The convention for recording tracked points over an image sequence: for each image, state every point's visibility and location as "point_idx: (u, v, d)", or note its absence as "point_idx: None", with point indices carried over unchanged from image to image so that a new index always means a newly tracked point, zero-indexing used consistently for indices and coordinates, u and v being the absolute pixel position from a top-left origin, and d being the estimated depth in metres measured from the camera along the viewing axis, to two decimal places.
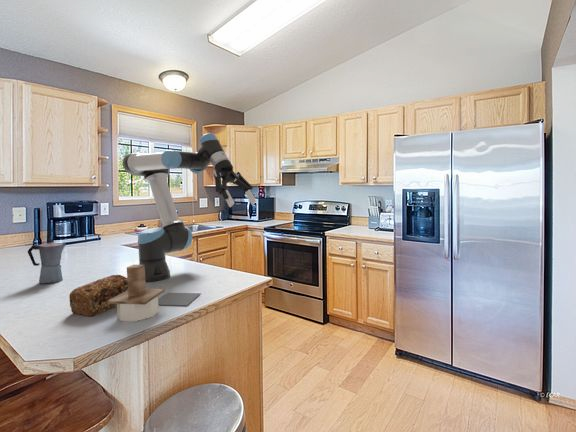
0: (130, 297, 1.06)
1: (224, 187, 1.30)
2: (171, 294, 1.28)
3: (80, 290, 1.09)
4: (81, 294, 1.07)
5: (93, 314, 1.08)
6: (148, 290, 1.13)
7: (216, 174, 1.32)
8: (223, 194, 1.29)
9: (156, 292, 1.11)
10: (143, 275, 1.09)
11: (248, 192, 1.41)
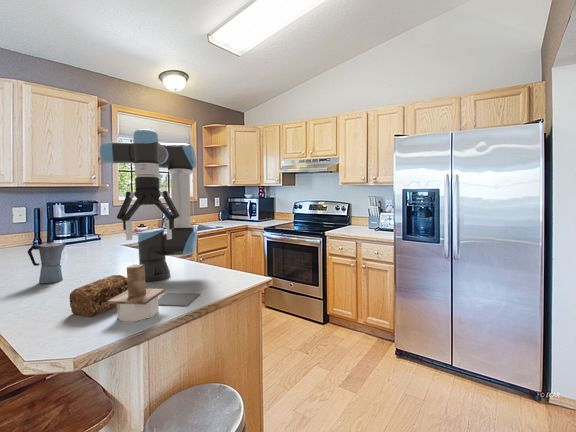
0: (130, 297, 1.06)
1: (125, 216, 1.07)
2: (171, 294, 1.28)
3: (80, 290, 1.09)
4: (81, 295, 1.07)
5: (93, 314, 1.08)
6: (148, 290, 1.13)
7: None
8: None
9: (156, 292, 1.11)
10: (143, 275, 1.09)
11: None
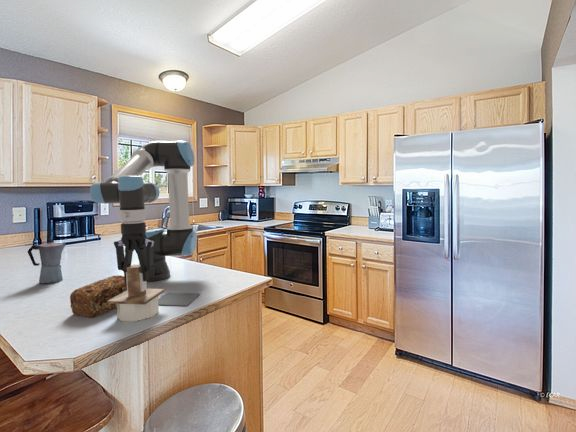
0: (130, 297, 1.06)
1: (124, 267, 1.07)
2: (171, 294, 1.28)
3: (81, 291, 1.08)
4: (81, 295, 1.07)
5: (94, 315, 1.07)
6: (148, 290, 1.13)
7: None
8: None
9: (156, 292, 1.11)
10: None
11: None
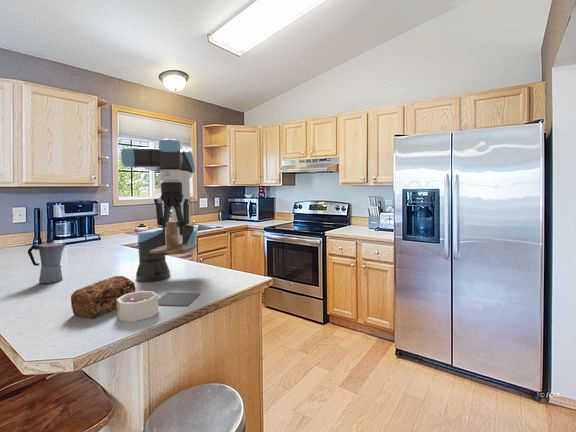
0: (169, 249, 1.18)
1: (163, 222, 1.19)
2: (171, 294, 1.28)
3: (82, 291, 1.07)
4: (82, 296, 1.06)
5: (95, 316, 1.07)
6: (183, 245, 1.25)
7: None
8: None
9: (190, 246, 1.23)
10: None
11: None
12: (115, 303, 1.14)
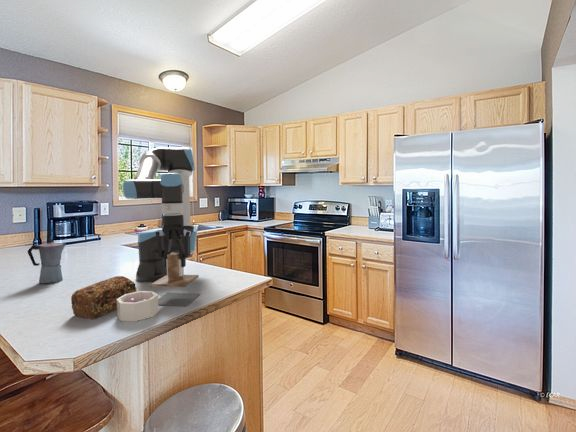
0: (170, 281, 1.19)
1: (165, 255, 1.21)
2: (171, 294, 1.28)
3: (82, 292, 1.07)
4: (83, 296, 1.06)
5: (95, 316, 1.06)
6: (184, 276, 1.26)
7: None
8: None
9: (192, 277, 1.24)
10: None
11: None
12: (115, 304, 1.13)
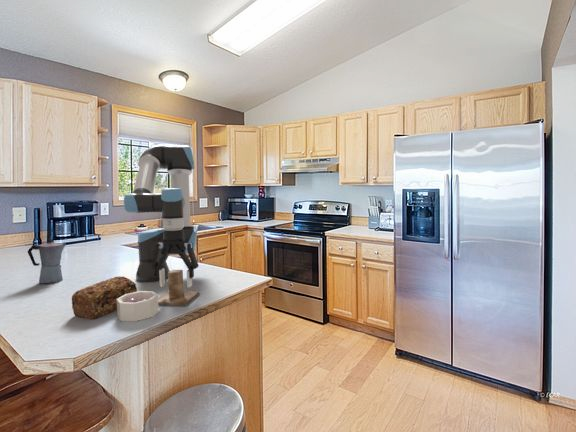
0: (171, 299, 1.20)
1: (158, 266, 1.21)
2: None
3: (82, 292, 1.06)
4: (83, 297, 1.05)
5: (95, 317, 1.06)
6: (185, 293, 1.27)
7: None
8: None
9: (192, 294, 1.25)
10: (182, 279, 1.24)
11: None
12: (116, 304, 1.13)
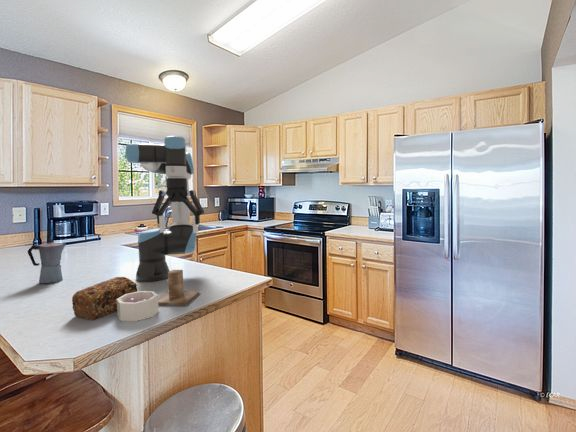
0: (171, 299, 1.20)
1: (158, 212, 1.23)
2: None
3: (83, 293, 1.06)
4: (83, 297, 1.05)
5: (96, 317, 1.05)
6: (185, 293, 1.27)
7: None
8: None
9: (192, 294, 1.25)
10: (182, 279, 1.24)
11: None
12: (116, 304, 1.12)
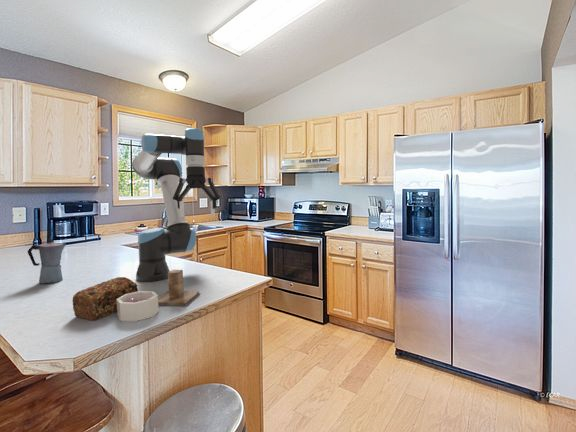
0: (171, 299, 1.20)
1: (179, 198, 1.35)
2: None
3: (83, 293, 1.06)
4: (84, 298, 1.04)
5: (96, 318, 1.05)
6: (185, 293, 1.27)
7: None
8: (178, 204, 1.37)
9: (192, 294, 1.25)
10: (182, 279, 1.24)
11: None
12: None
